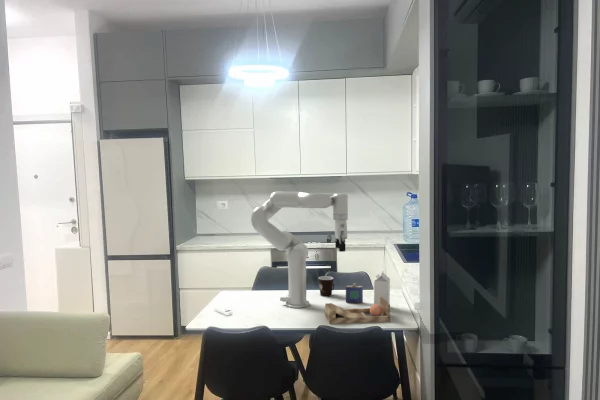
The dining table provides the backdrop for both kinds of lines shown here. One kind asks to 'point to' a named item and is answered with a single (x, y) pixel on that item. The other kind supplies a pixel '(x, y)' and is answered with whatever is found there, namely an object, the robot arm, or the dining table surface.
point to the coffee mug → (326, 285)
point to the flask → (354, 294)
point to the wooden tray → (356, 314)
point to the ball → (375, 310)
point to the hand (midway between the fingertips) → (340, 249)
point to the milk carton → (381, 288)
